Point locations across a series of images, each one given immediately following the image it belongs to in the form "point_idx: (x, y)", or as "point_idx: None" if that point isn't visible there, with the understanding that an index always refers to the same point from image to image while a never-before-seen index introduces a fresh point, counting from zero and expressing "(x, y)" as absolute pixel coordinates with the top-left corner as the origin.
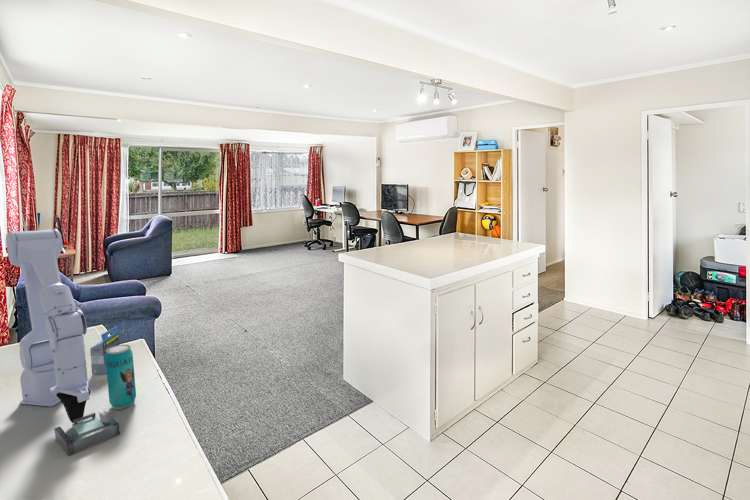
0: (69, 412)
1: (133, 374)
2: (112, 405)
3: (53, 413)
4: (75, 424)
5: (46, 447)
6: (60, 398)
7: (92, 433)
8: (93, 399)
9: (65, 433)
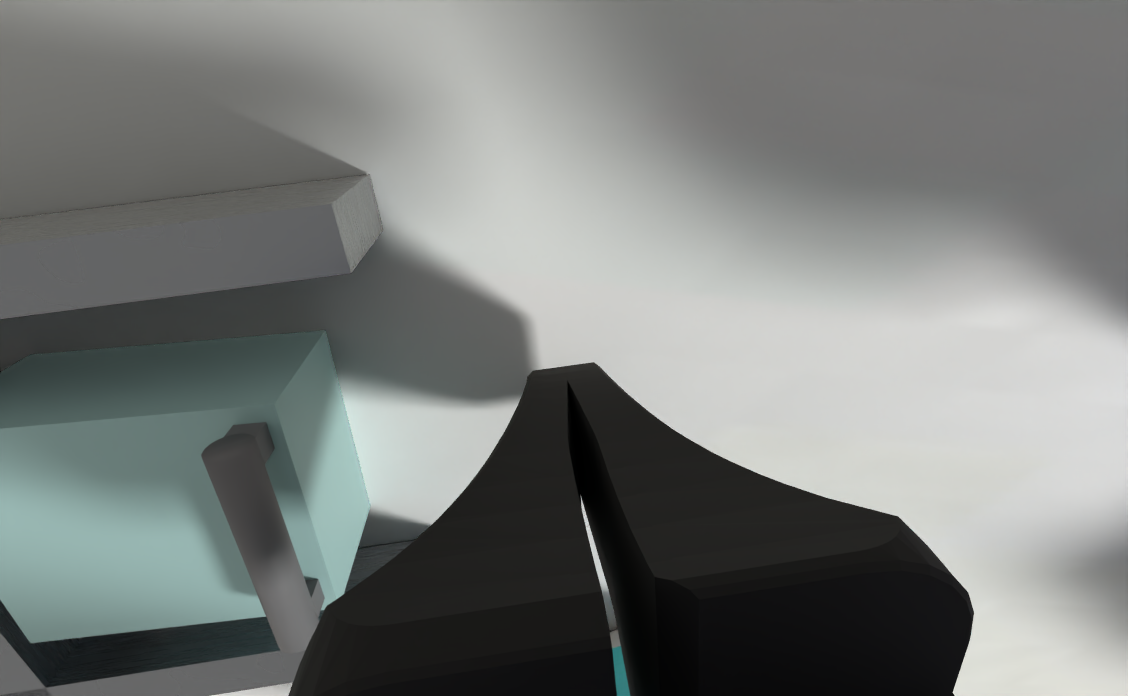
0: (497, 452)
1: None
2: (621, 655)
3: (1026, 233)
4: (232, 434)
5: (210, 56)
6: (424, 666)
7: None
8: (949, 532)
9: (56, 307)
